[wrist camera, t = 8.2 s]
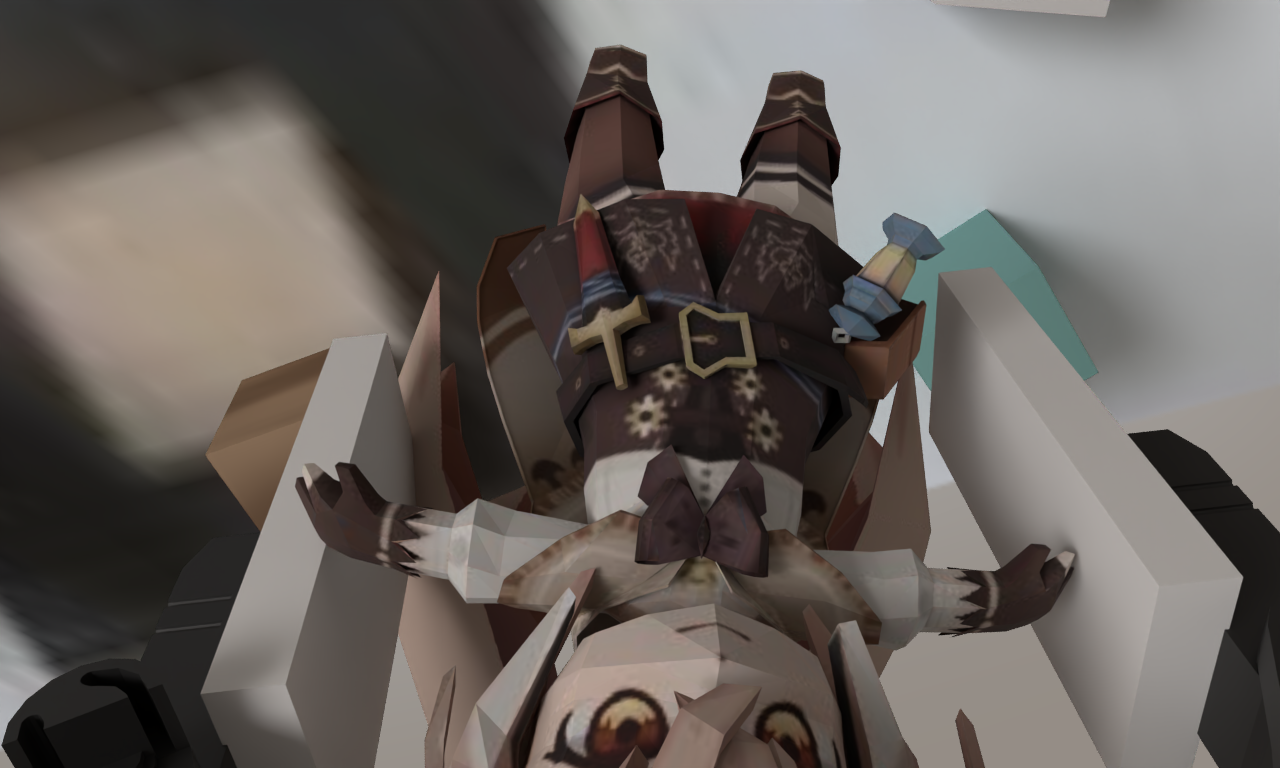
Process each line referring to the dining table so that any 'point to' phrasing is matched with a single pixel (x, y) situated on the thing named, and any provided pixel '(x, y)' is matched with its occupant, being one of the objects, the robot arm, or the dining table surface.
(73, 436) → the dining table surface
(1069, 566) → the toy
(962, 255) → the teal cube
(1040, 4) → the grey cube
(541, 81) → the dining table surface
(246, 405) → the walnut cube
